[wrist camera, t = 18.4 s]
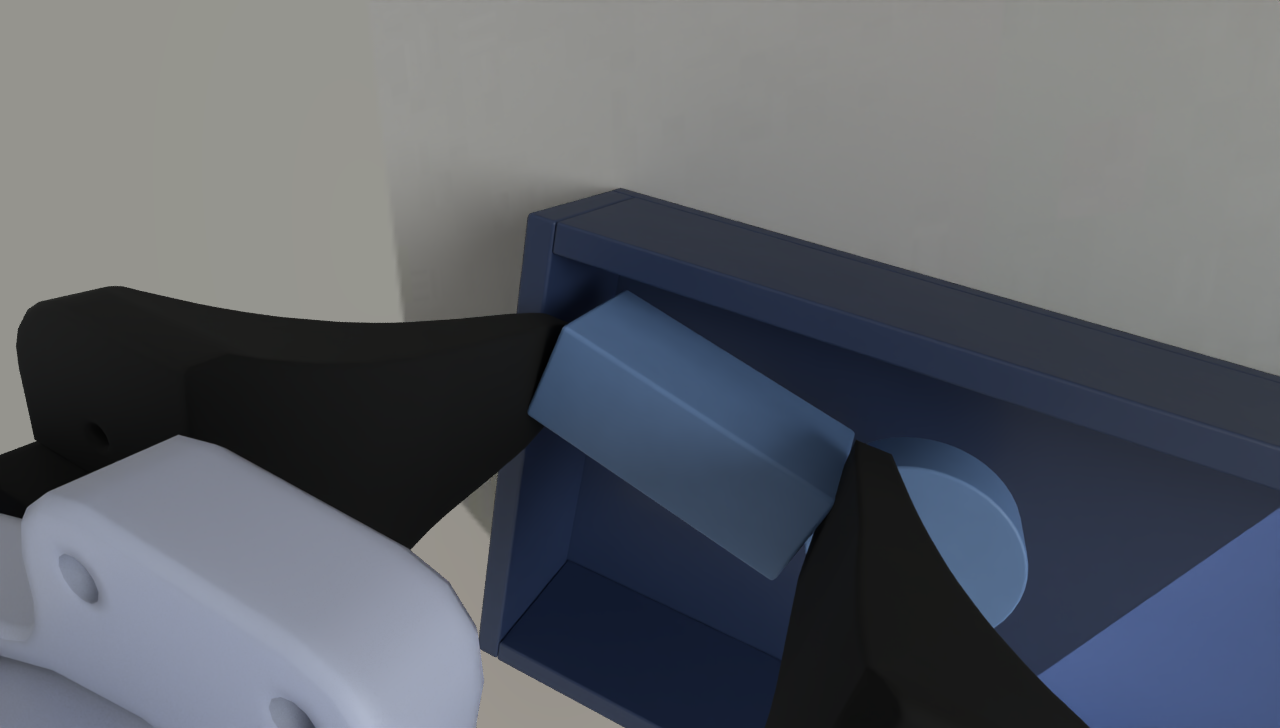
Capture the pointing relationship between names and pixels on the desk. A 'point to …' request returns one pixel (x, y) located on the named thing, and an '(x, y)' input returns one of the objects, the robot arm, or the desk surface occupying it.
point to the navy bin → (888, 408)
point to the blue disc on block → (756, 450)
